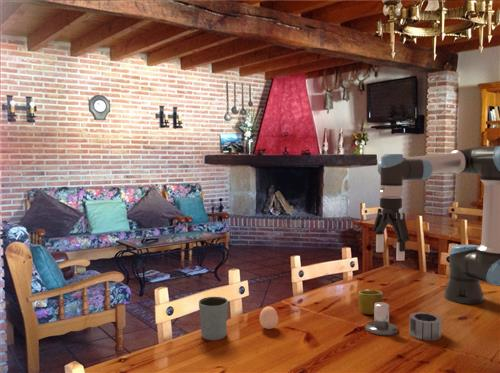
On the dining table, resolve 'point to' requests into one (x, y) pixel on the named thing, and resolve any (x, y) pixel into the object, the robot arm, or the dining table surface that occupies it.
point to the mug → (369, 300)
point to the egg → (268, 318)
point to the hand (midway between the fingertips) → (389, 256)
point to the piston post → (381, 321)
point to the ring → (425, 326)
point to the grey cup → (213, 317)
